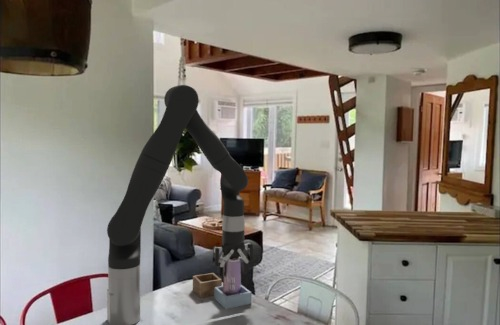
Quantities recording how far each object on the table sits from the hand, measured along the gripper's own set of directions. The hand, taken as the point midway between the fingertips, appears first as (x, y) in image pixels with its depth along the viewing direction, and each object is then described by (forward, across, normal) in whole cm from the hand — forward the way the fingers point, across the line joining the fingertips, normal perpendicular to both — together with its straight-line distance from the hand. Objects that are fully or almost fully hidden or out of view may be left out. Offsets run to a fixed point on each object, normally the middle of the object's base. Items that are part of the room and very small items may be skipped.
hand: (232, 275), depth 128 cm
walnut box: (+10, -5, +11) cm, 15 cm away
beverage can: (+9, 0, 0) cm, 9 cm away
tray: (+10, 0, 0) cm, 10 cm away
